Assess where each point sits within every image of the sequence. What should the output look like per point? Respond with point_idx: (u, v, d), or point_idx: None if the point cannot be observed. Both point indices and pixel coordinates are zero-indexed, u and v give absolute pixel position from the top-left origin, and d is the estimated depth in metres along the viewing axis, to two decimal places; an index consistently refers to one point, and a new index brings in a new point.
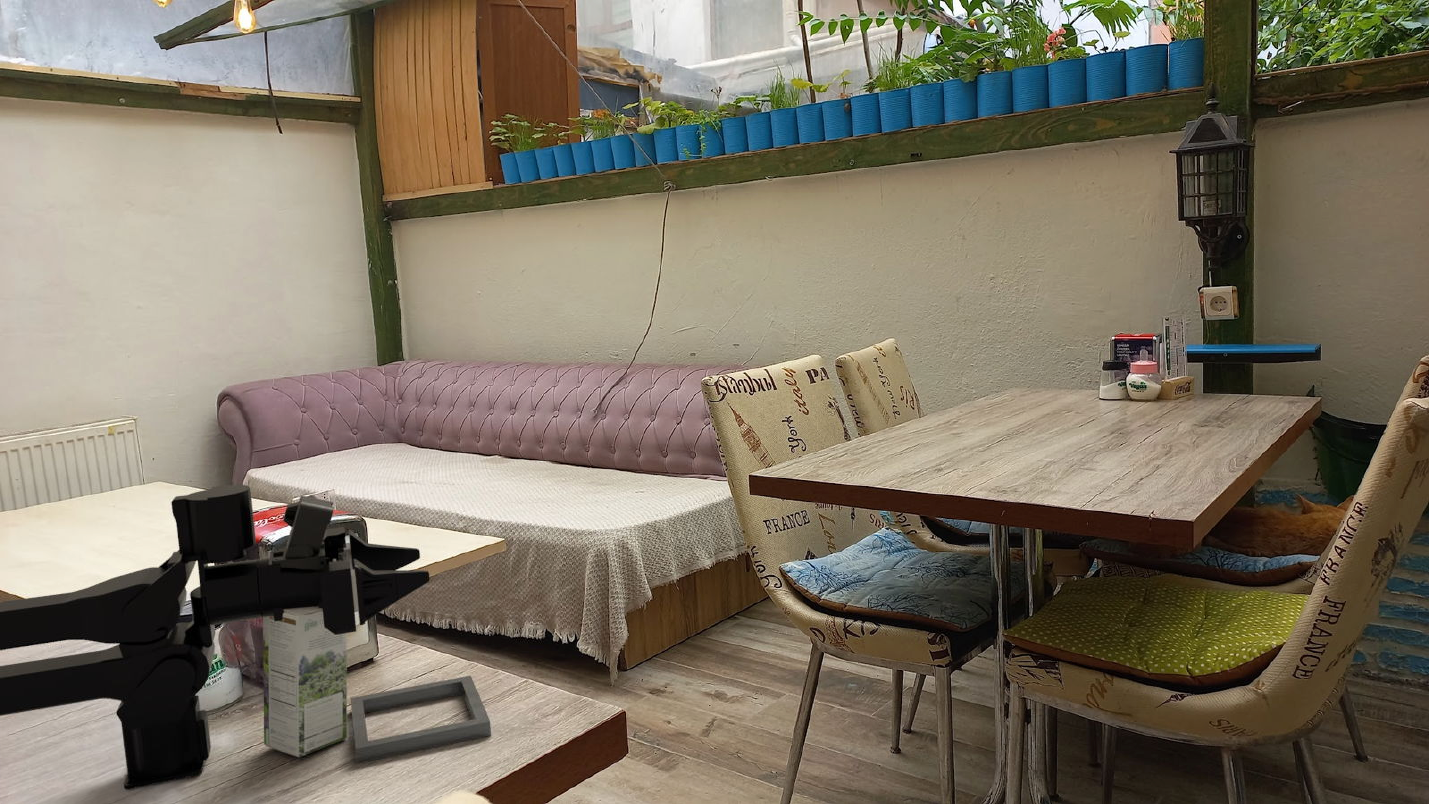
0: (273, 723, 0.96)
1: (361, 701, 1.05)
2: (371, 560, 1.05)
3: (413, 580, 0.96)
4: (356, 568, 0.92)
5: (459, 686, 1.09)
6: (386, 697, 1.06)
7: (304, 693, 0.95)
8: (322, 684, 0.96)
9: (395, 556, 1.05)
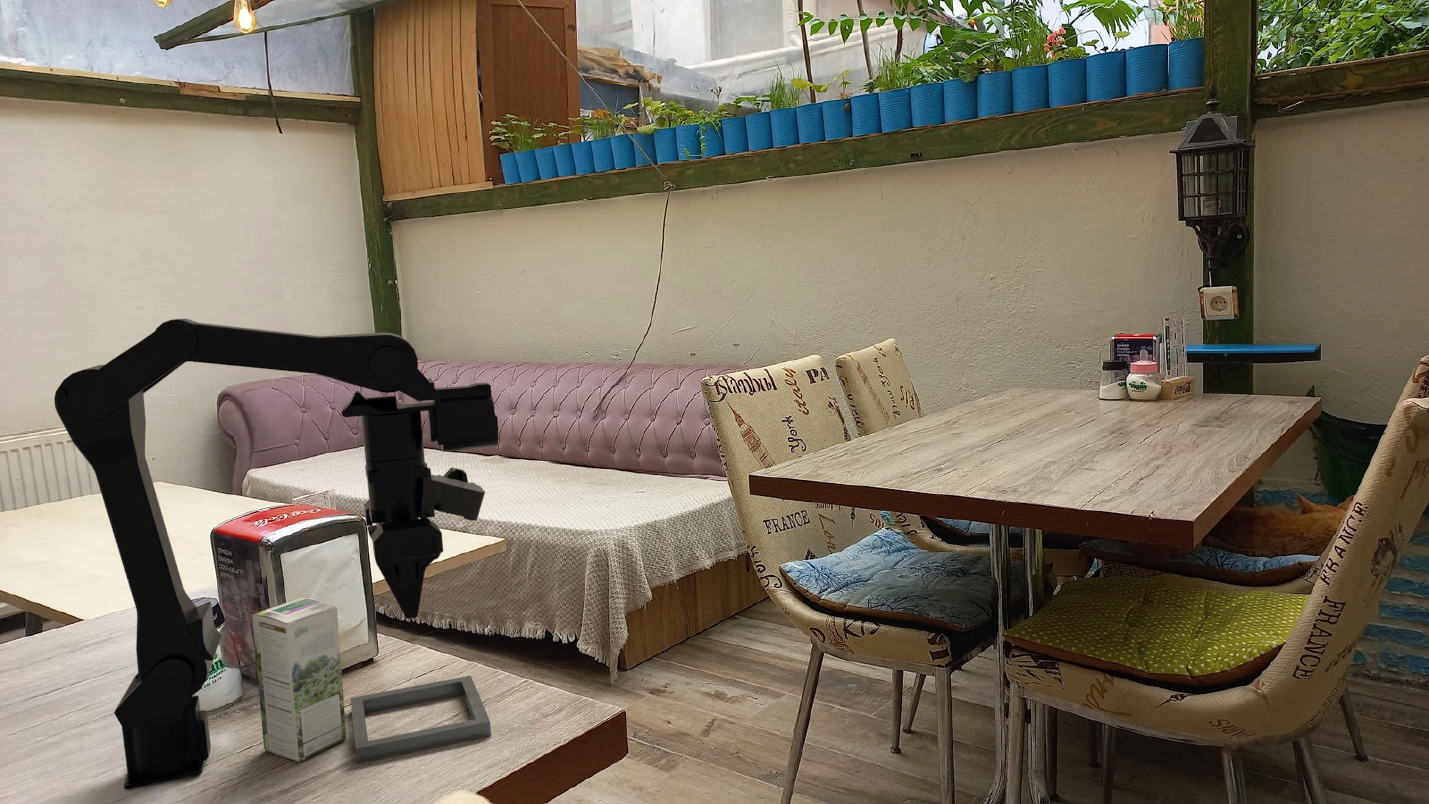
0: (271, 729, 0.96)
1: (361, 701, 1.05)
2: None
3: (410, 604, 0.96)
4: (438, 555, 0.94)
5: (459, 686, 1.09)
6: (386, 697, 1.06)
7: (299, 699, 0.94)
8: (318, 688, 0.96)
9: None
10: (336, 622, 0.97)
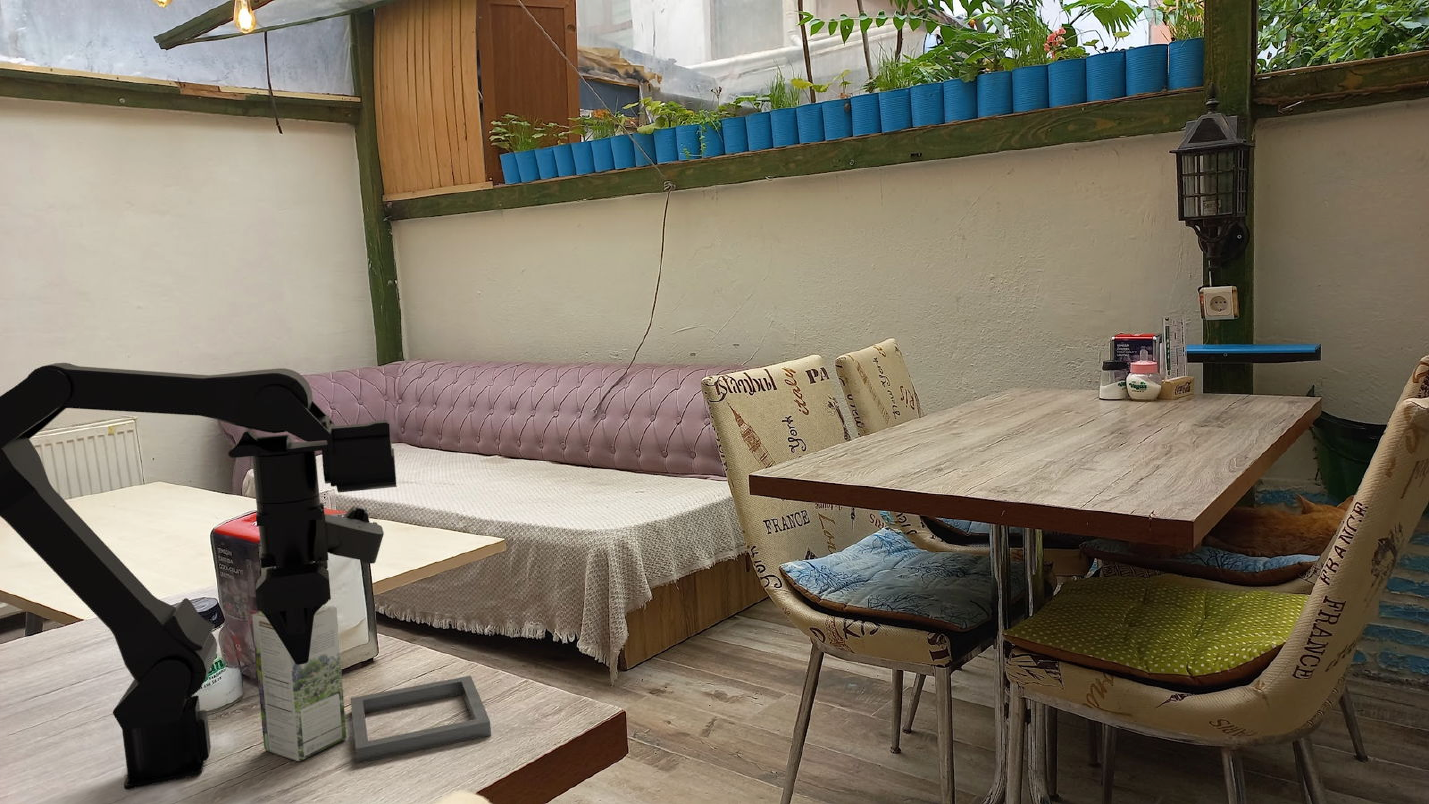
0: (271, 729, 0.96)
1: (361, 701, 1.05)
2: None
3: (300, 650, 0.93)
4: (326, 600, 0.91)
5: (459, 686, 1.09)
6: (386, 697, 1.06)
7: (299, 698, 0.94)
8: (317, 687, 0.96)
9: None
10: (336, 621, 0.97)
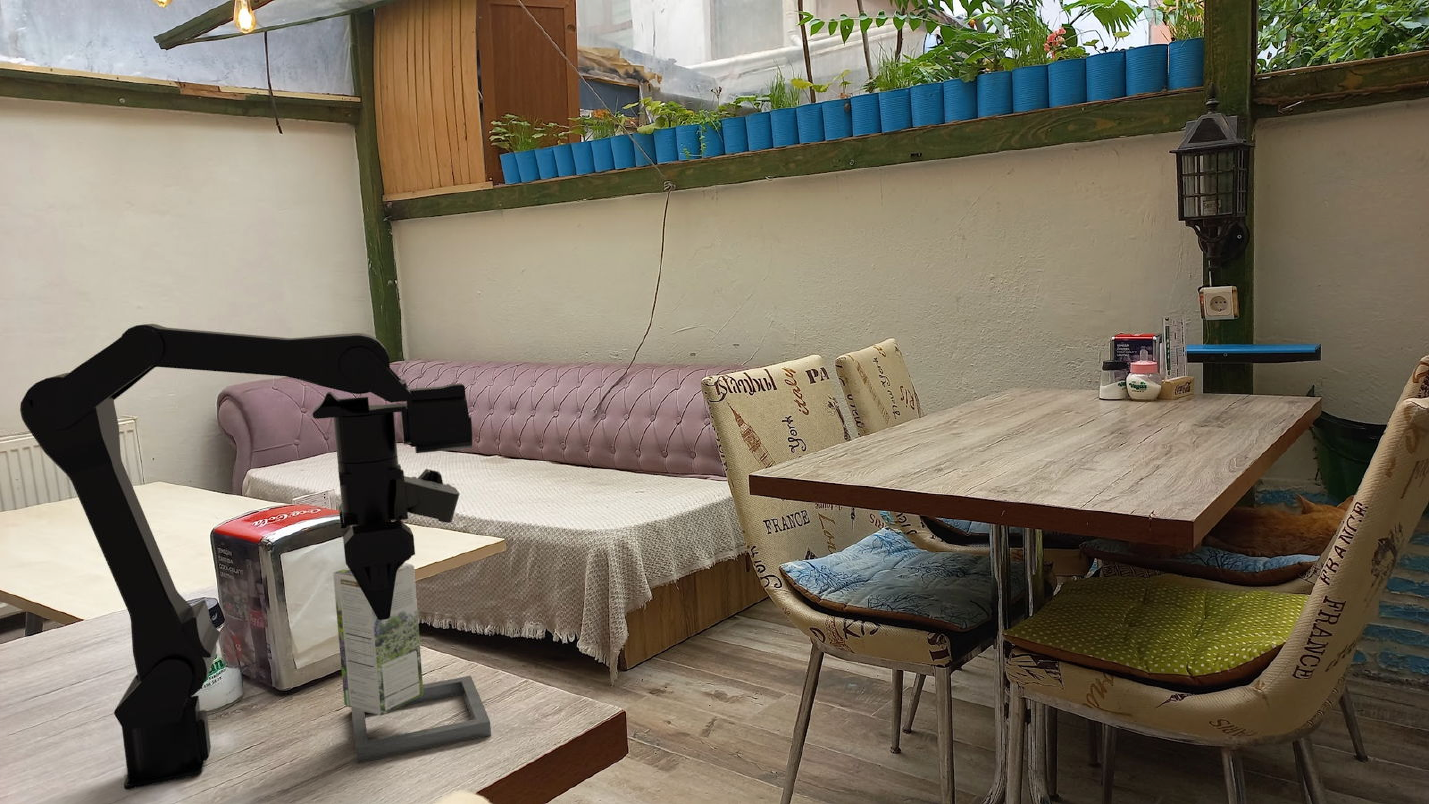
0: (352, 684, 0.99)
1: None
2: None
3: (383, 605, 0.95)
4: (410, 556, 0.93)
5: (459, 686, 1.09)
6: None
7: (381, 654, 0.97)
8: (397, 644, 0.98)
9: None
10: (413, 580, 1.00)
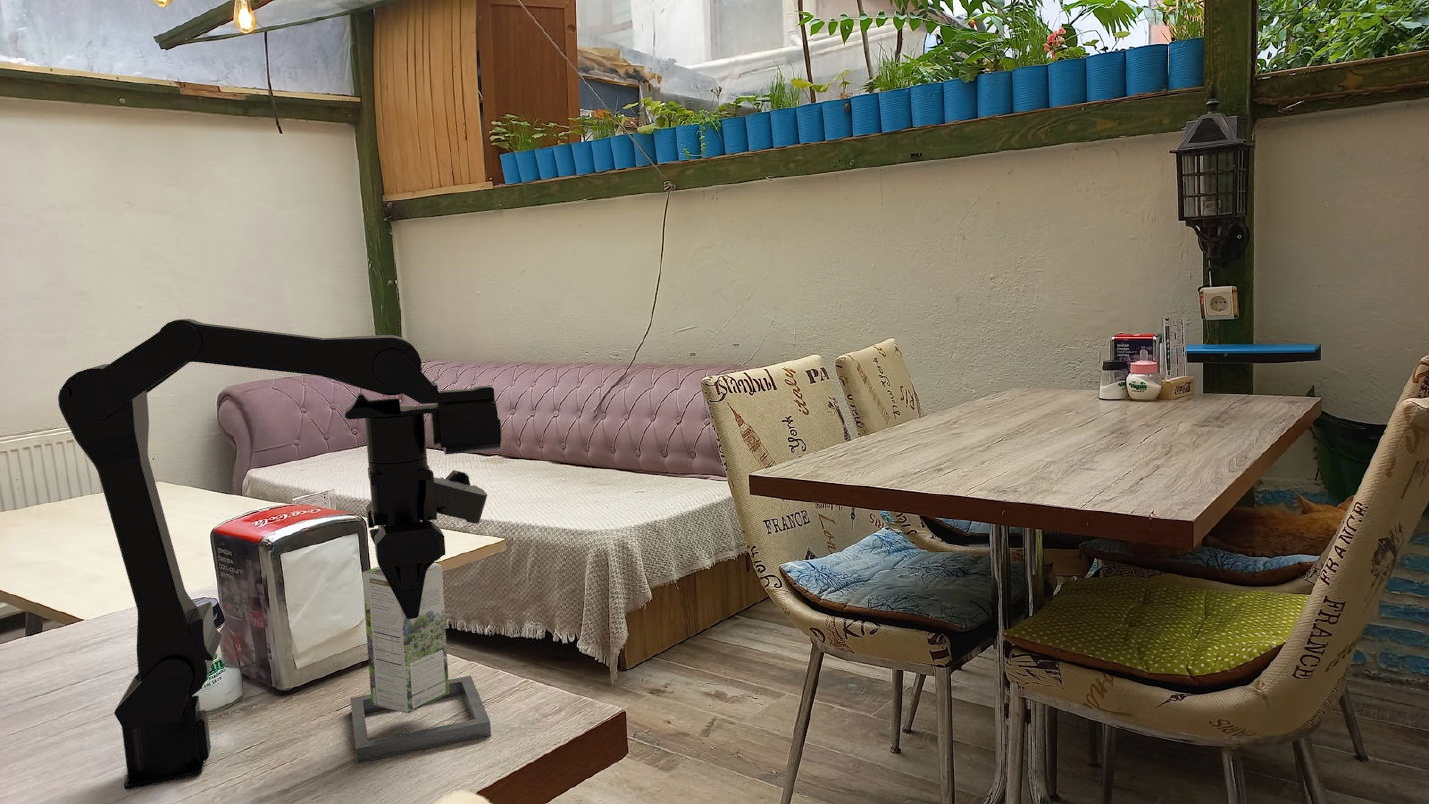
0: (380, 682, 1.00)
1: (361, 701, 1.05)
2: None
3: (412, 604, 0.96)
4: (440, 556, 0.94)
5: (459, 686, 1.09)
6: None
7: (409, 652, 0.98)
8: (425, 643, 0.99)
9: None
10: (441, 580, 1.01)
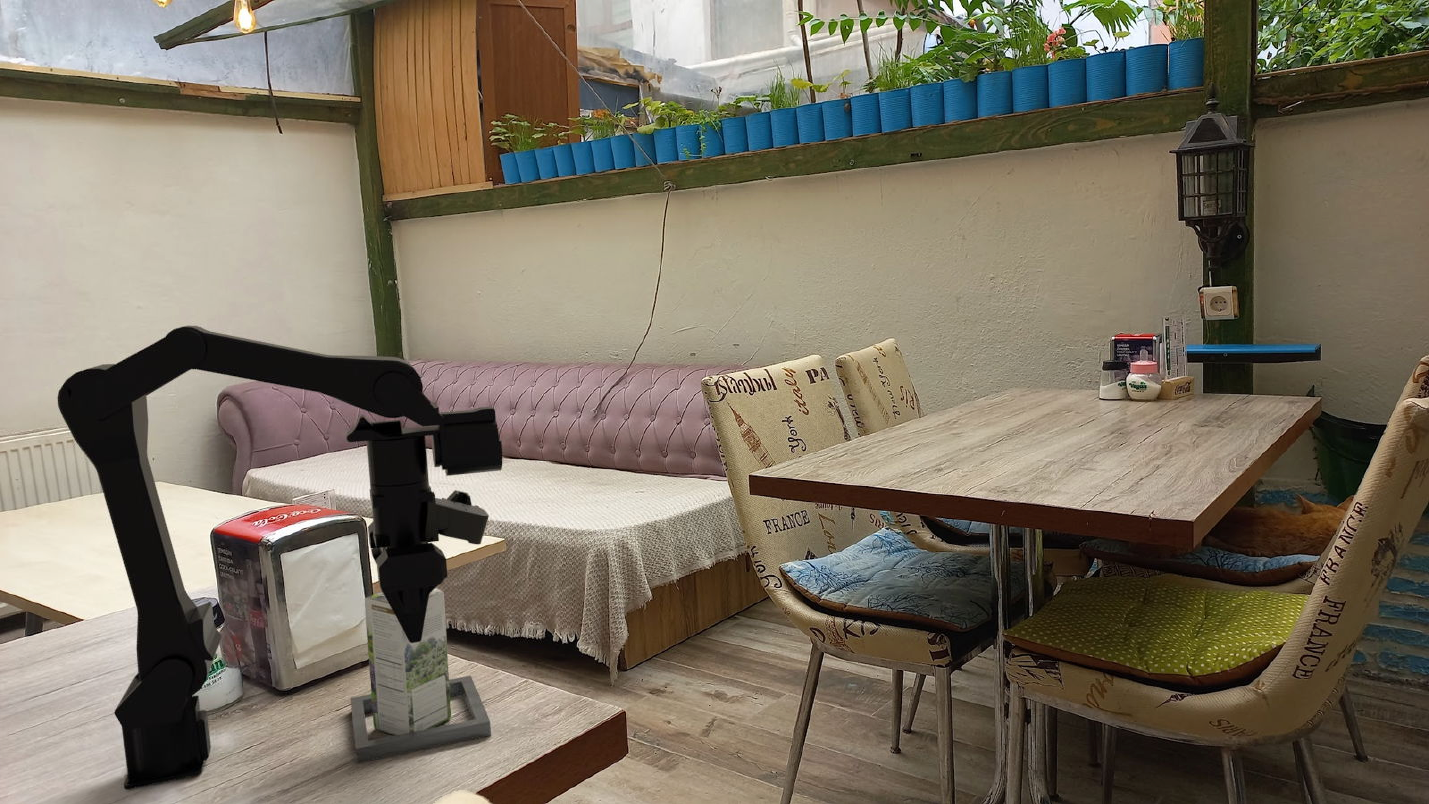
0: (382, 708, 1.00)
1: (361, 701, 1.05)
2: None
3: (414, 628, 0.96)
4: (442, 580, 0.94)
5: (459, 686, 1.09)
6: None
7: (411, 679, 0.98)
8: (427, 669, 1.00)
9: None
10: (443, 606, 1.01)
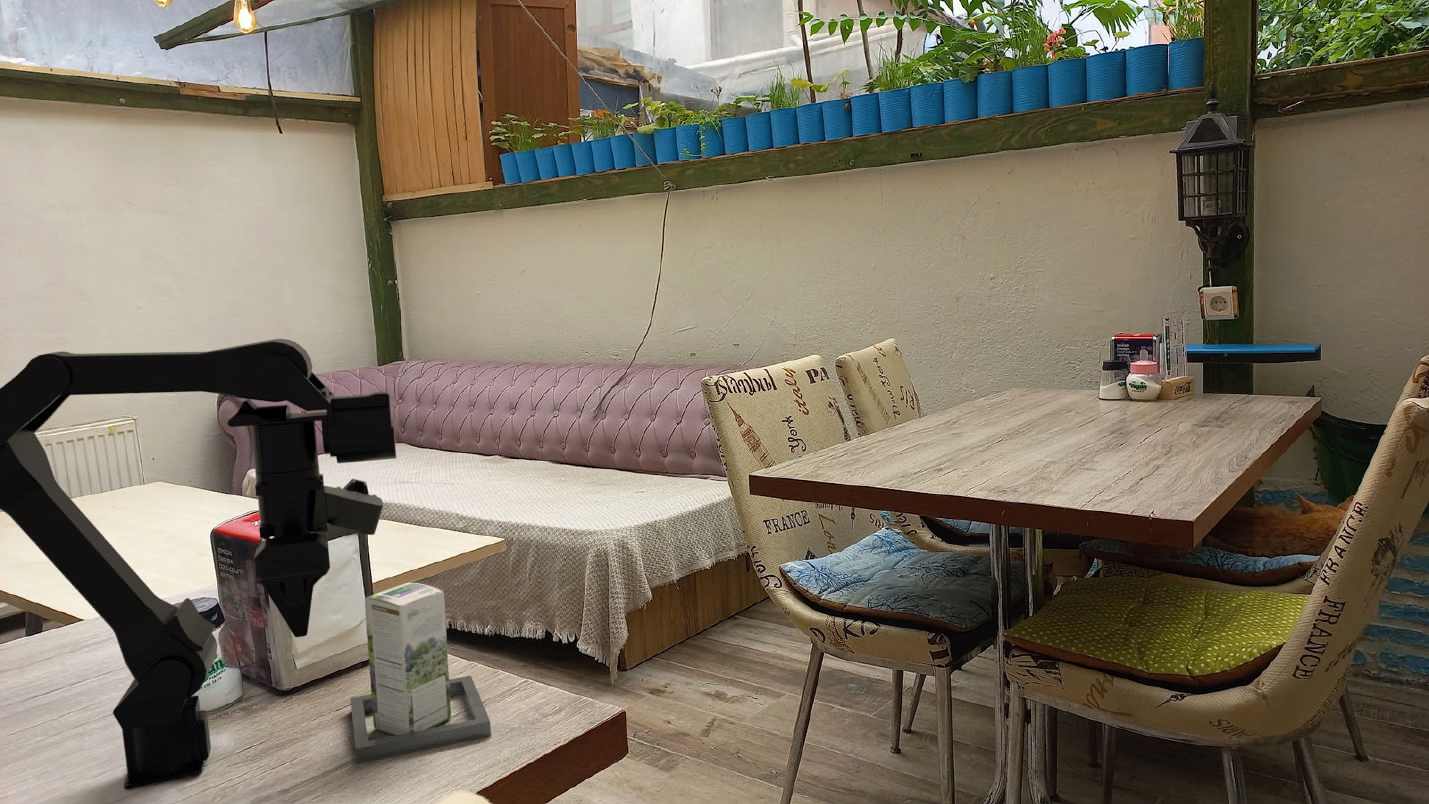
0: (382, 708, 1.00)
1: (361, 701, 1.05)
2: None
3: (299, 622, 0.92)
4: (326, 572, 0.90)
5: (459, 686, 1.09)
6: None
7: (411, 679, 0.98)
8: (427, 669, 1.00)
9: None
10: (443, 606, 1.01)
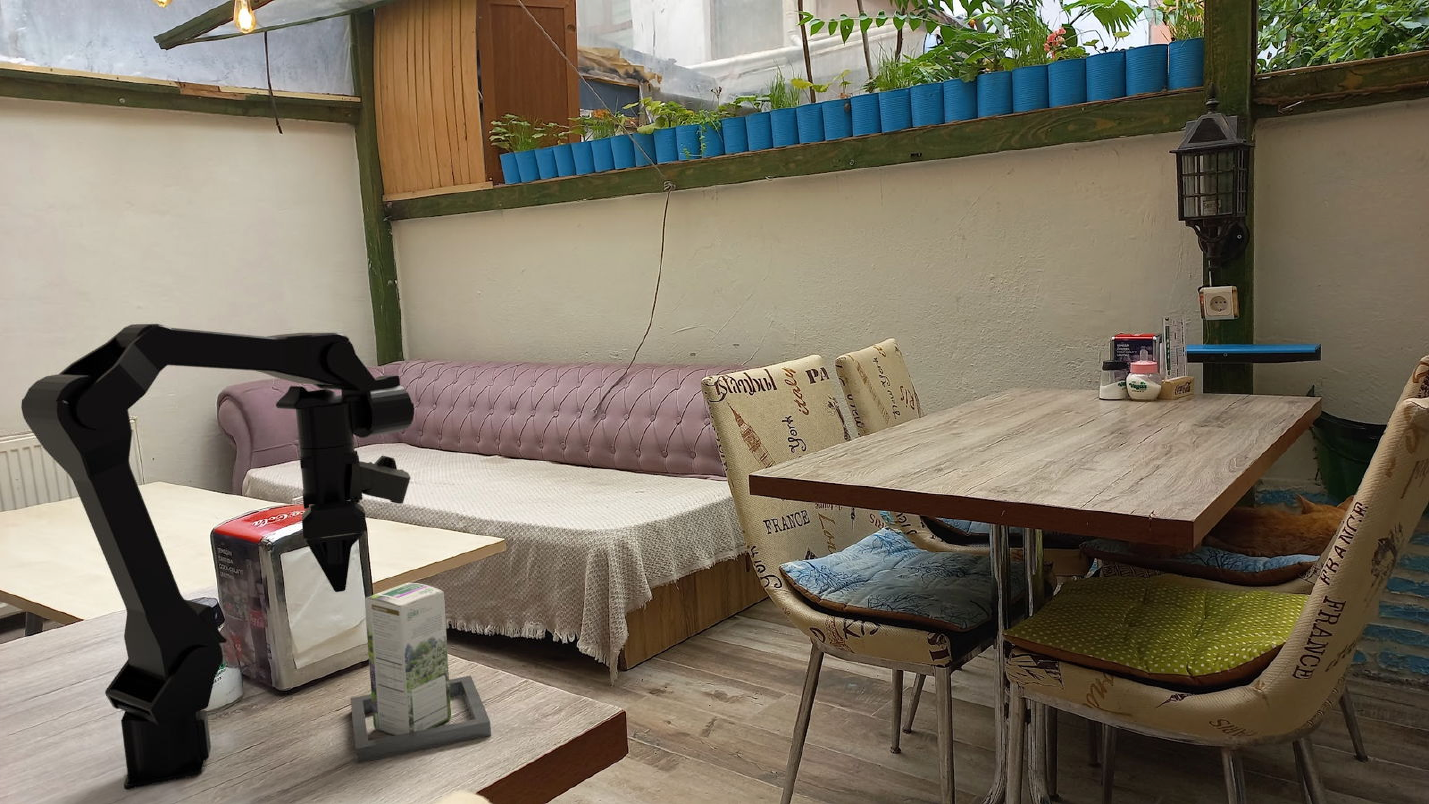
0: (382, 708, 1.00)
1: (361, 701, 1.05)
2: None
3: (338, 578, 1.05)
4: (363, 534, 1.03)
5: (459, 686, 1.09)
6: None
7: (411, 679, 0.98)
8: (427, 669, 1.00)
9: None
10: (443, 606, 1.01)
